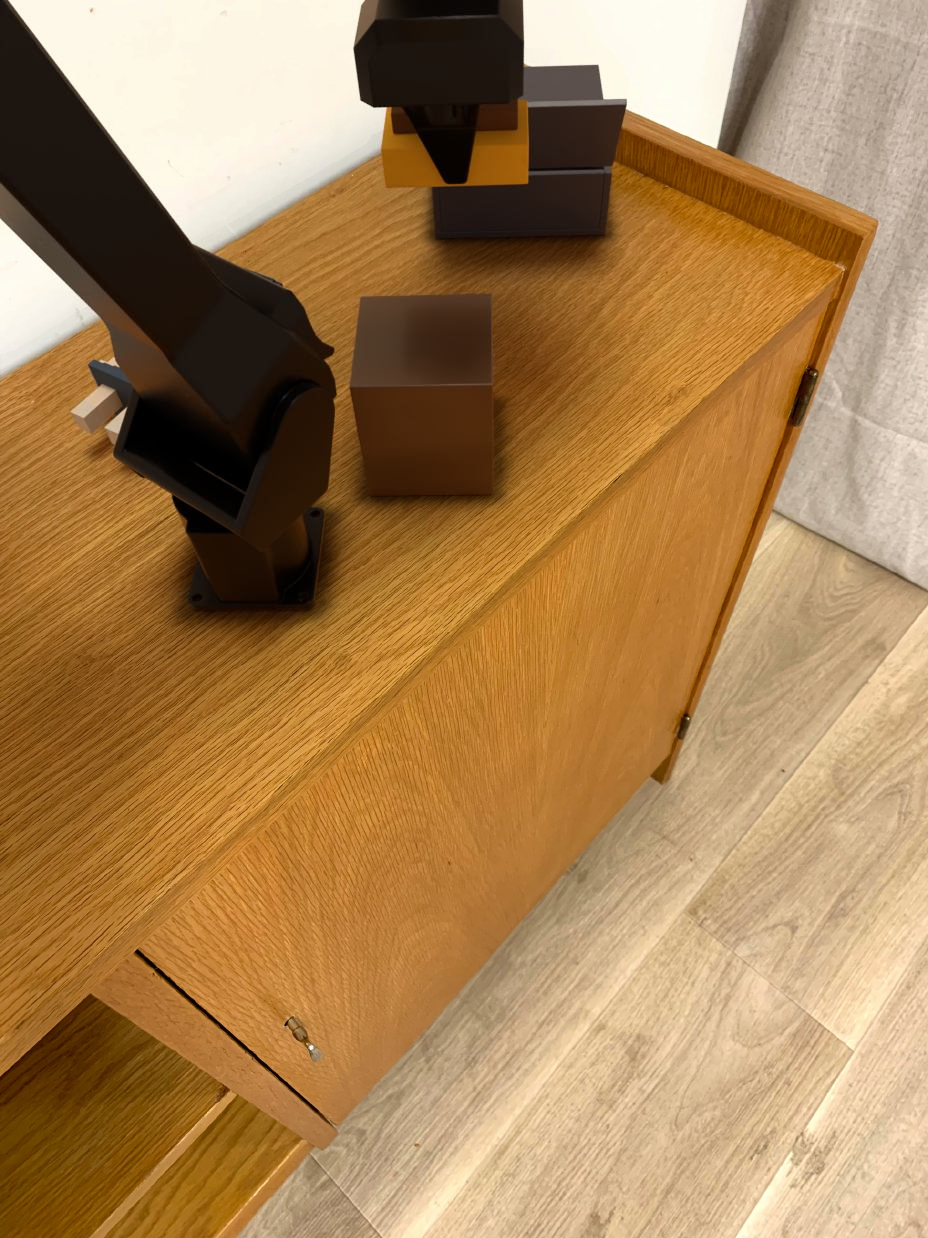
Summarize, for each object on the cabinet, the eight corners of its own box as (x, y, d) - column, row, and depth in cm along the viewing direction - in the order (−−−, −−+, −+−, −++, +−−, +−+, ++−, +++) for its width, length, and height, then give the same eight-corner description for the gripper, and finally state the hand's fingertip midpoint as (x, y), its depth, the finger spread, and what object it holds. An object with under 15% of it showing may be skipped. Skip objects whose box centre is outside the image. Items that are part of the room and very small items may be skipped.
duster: (527, 139, 46) (527, 77, 43) (528, 184, 43) (529, 122, 41) (391, 143, 46) (384, 82, 43) (385, 188, 44) (377, 127, 41)
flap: (612, 160, 58) (612, 166, 58) (431, 165, 59) (431, 170, 59) (626, 98, 52) (627, 104, 52) (423, 103, 52) (423, 110, 52)
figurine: (28, 380, 50) (200, 237, 57) (59, 434, 53) (218, 294, 60) (145, 434, 47) (311, 278, 54) (170, 488, 51) (323, 335, 58)
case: (605, 234, 63) (613, 161, 58) (435, 238, 63) (430, 165, 59) (592, 135, 70) (599, 63, 65) (440, 139, 70) (436, 68, 66)
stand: (493, 494, 50) (492, 384, 43) (369, 496, 50) (348, 386, 43) (493, 406, 53) (492, 292, 47) (377, 408, 54) (359, 295, 47)
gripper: (699, -195, 26) (634, 272, 39) (644, -355, 36) (607, 58, 49) (319, -177, 26) (382, 277, 39) (370, -340, 36) (406, 65, 50)
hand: (457, 157), depth 44 cm, fingers closed on duster, 4 cm apart
